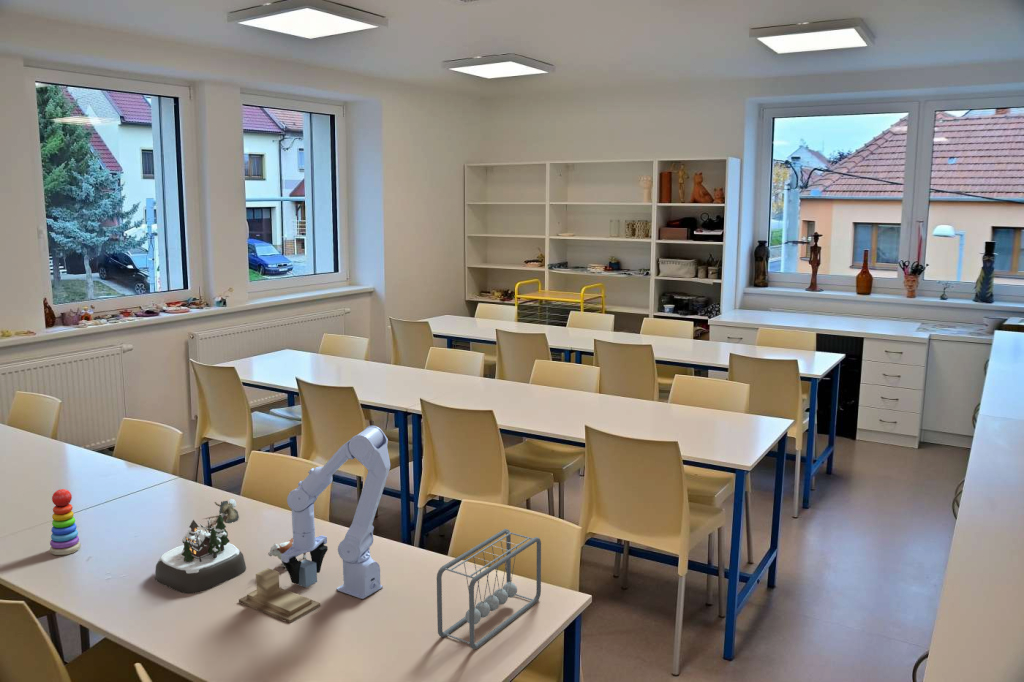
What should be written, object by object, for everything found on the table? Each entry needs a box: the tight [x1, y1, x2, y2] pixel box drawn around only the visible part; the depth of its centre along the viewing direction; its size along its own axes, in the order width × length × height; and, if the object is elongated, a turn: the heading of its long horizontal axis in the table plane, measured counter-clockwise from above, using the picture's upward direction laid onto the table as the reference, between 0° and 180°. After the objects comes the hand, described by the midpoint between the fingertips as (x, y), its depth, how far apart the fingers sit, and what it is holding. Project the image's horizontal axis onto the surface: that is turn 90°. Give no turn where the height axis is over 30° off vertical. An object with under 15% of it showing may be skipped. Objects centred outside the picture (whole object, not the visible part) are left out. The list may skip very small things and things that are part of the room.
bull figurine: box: [267, 537, 307, 572], centre depth 229 cm, size 4×13×8 cm, turn 152°
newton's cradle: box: [436, 528, 542, 650], centre depth 199 cm, size 30×10×18 cm, turn 146°
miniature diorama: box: [154, 514, 247, 595], centre depth 223 cm, size 20×20×17 cm
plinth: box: [238, 587, 321, 624], centre depth 207 cm, size 19×10×2 cm, turn 57°
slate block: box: [297, 559, 318, 588], centre depth 218 cm, size 4×4×6 cm
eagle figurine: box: [214, 498, 240, 524], centre depth 263 cm, size 8×7×9 cm
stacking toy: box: [49, 488, 82, 556], centre depth 237 cm, size 8×8×19 cm
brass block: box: [255, 567, 281, 598], centre depth 209 cm, size 4×4×6 cm
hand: (306, 577), depth 219 cm, fingers open, 7 cm apart
